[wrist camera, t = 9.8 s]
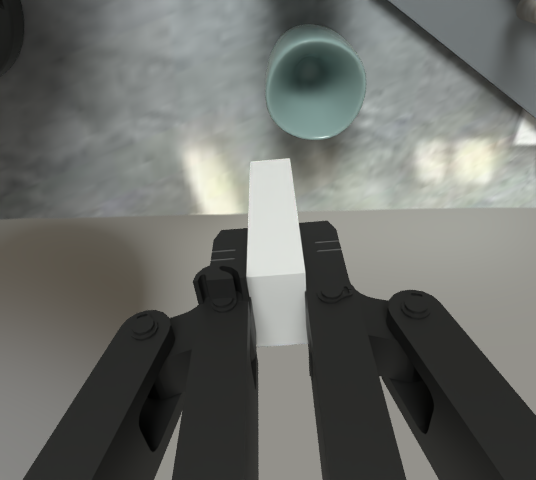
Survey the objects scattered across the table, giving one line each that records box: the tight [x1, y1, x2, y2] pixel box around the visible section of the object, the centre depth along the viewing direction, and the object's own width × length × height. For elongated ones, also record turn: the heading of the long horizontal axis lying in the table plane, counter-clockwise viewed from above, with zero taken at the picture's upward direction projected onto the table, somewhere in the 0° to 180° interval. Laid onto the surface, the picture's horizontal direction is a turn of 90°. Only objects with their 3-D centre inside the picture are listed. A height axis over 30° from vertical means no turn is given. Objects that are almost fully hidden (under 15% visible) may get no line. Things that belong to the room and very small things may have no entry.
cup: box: [265, 24, 366, 140], centre depth 36 cm, size 8×8×10 cm
